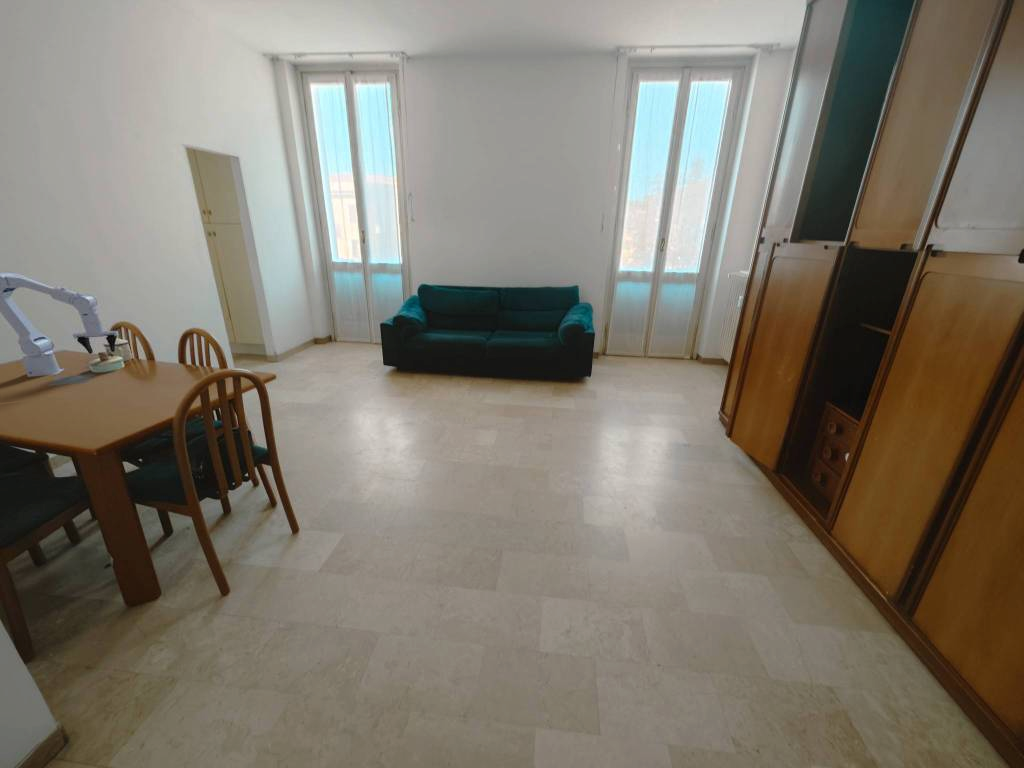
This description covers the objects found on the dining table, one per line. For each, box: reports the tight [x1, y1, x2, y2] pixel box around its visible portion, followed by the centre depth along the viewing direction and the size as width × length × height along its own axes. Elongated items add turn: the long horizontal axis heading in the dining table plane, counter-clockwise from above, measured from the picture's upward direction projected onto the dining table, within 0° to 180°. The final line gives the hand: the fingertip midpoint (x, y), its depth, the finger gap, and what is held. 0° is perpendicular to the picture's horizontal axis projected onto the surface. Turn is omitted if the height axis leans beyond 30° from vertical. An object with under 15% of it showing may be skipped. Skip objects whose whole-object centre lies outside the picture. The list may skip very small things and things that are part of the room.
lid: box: [86, 351, 123, 367], centre depth 184 cm, size 12×12×4 cm
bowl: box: [89, 360, 125, 373], centre depth 186 cm, size 11×11×4 cm
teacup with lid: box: [103, 337, 134, 362], centre depth 197 cm, size 12×9×12 cm
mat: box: [46, 373, 97, 387], centre depth 172 cm, size 12×12×1 cm
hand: (102, 352), depth 184 cm, fingers open, 7 cm apart
